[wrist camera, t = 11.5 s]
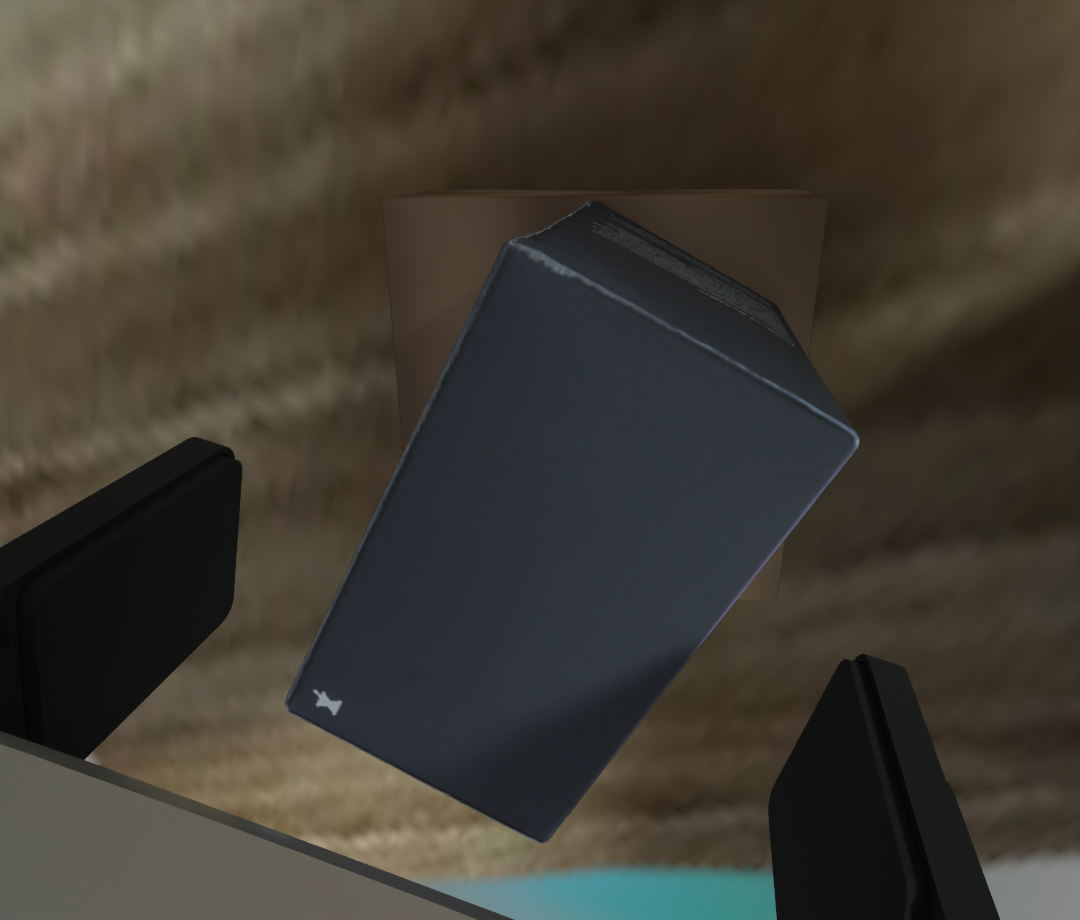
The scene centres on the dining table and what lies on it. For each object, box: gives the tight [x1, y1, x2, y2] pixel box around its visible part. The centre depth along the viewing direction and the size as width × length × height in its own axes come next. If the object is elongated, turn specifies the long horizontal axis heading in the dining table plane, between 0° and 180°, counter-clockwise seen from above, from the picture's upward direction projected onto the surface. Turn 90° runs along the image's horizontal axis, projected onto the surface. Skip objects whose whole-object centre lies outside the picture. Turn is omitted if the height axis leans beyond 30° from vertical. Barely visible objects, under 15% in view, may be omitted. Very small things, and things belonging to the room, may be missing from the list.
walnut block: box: [382, 189, 829, 603], centre depth 25 cm, size 12×12×6 cm
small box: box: [285, 200, 860, 844], centre depth 18 cm, size 11×6×10 cm, turn 152°
